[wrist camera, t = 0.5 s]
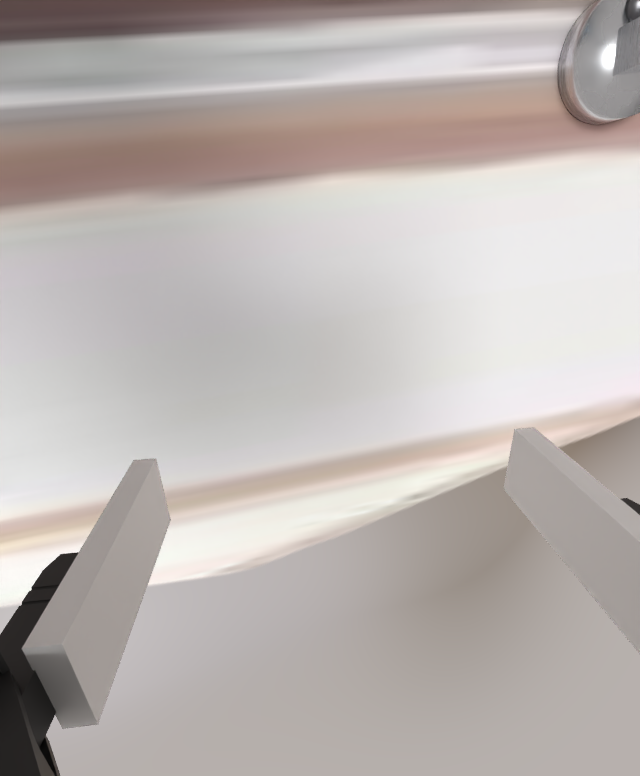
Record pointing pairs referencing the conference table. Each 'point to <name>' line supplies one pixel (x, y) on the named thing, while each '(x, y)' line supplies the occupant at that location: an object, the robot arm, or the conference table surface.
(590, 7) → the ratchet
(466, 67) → the conference table surface
